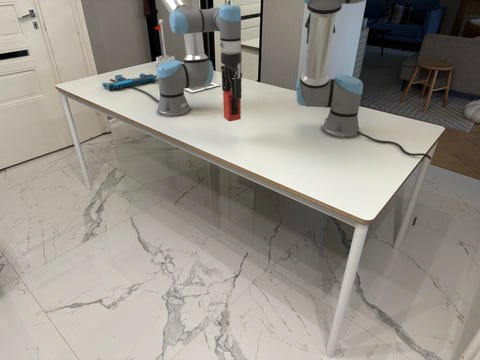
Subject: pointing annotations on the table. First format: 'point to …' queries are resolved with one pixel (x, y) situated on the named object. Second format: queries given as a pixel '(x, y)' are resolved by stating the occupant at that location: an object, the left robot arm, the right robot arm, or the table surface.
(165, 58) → the flag stand
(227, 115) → the brick
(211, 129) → the table surface
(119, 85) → the submachine gun
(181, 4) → the left robot arm
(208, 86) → the tablet
